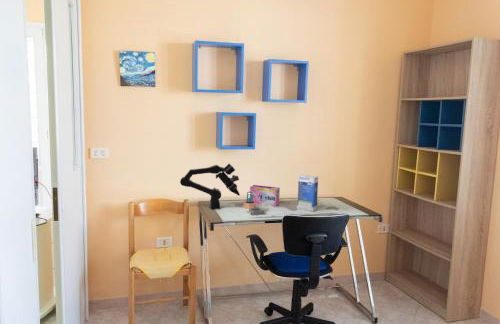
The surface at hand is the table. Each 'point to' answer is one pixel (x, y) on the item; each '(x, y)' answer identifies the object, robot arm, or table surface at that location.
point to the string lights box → (307, 192)
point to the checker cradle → (256, 211)
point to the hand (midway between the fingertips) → (238, 194)
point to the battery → (249, 197)
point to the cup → (249, 205)
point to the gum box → (265, 195)
